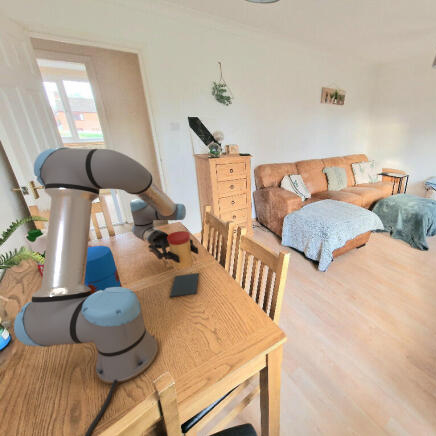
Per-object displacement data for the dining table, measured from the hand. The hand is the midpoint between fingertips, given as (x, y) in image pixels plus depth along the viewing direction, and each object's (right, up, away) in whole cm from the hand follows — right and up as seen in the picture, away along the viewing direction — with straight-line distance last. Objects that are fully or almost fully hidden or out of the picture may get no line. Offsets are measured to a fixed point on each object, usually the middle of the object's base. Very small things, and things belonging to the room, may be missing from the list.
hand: (188, 255), depth 94 cm
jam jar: (-4, -4, +5) cm, 8 cm away
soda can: (-59, -14, +7) cm, 61 cm away
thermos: (-27, -20, -5) cm, 34 cm away
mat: (-6, -15, +10) cm, 19 cm away
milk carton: (-71, -9, +18) cm, 73 cm away
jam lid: (-4, +7, 0) cm, 8 cm away
